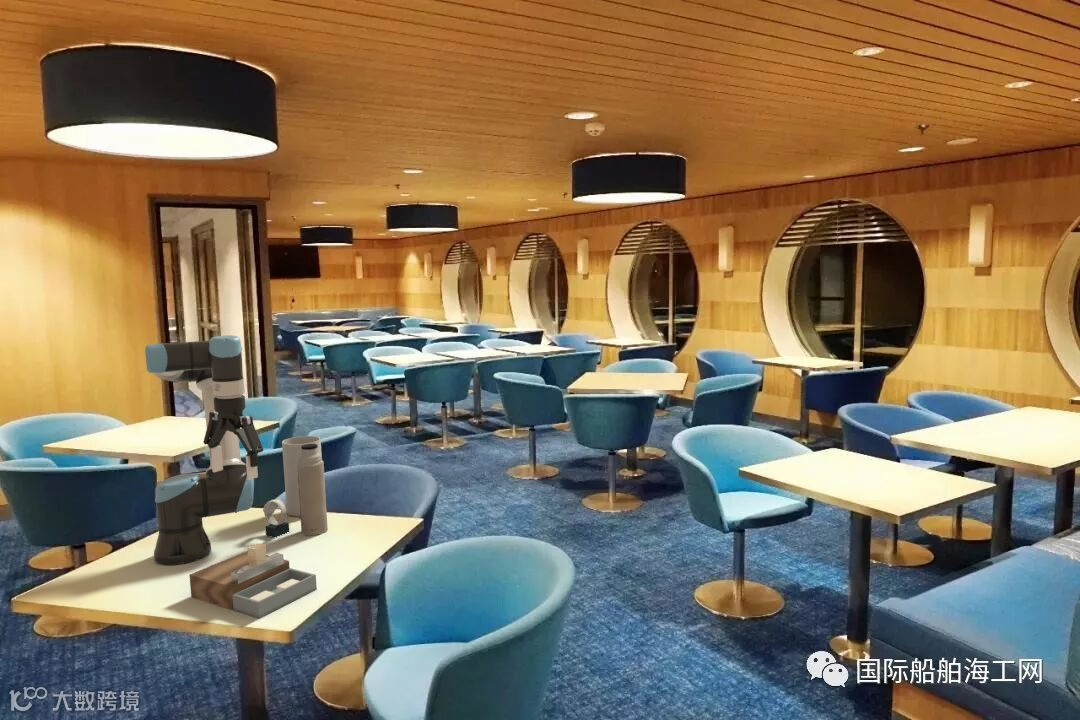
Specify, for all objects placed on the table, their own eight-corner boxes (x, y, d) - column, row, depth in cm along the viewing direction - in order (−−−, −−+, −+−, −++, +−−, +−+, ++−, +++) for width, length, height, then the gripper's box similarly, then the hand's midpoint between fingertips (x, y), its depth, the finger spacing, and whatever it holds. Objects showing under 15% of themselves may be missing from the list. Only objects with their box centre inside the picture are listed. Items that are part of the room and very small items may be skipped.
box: (233, 610, 181) (232, 594, 181) (291, 582, 197) (290, 568, 196) (259, 618, 177) (258, 602, 176) (316, 589, 192) (315, 574, 192)
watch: (275, 529, 238) (273, 496, 237) (293, 533, 234) (291, 499, 233) (261, 534, 234) (259, 500, 232) (279, 538, 230) (276, 504, 228)
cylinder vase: (313, 518, 248) (308, 445, 245) (279, 516, 251) (274, 444, 248) (331, 506, 260) (327, 436, 257) (298, 504, 263) (294, 435, 260)
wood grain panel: (191, 597, 189) (189, 574, 189) (250, 571, 205) (248, 550, 204) (232, 610, 181) (230, 586, 181) (290, 582, 197) (289, 560, 196)
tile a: (263, 602, 179) (263, 610, 180) (279, 594, 184) (280, 601, 184) (249, 598, 182) (249, 606, 182) (265, 590, 186) (266, 598, 186)
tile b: (289, 590, 186) (290, 597, 186) (305, 582, 190) (305, 589, 190) (276, 586, 189) (276, 593, 189) (291, 578, 193) (292, 586, 193)
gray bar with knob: (231, 581, 184) (228, 554, 183) (276, 561, 196) (274, 536, 195) (239, 583, 182) (237, 556, 181) (284, 563, 194) (282, 538, 193)
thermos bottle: (297, 535, 232) (291, 448, 228) (306, 527, 240) (301, 442, 236) (323, 535, 231) (317, 447, 228) (331, 526, 239) (325, 441, 236)
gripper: (185, 393, 195) (191, 471, 198) (250, 403, 183) (255, 485, 186) (209, 388, 201) (215, 464, 205) (274, 397, 189) (279, 477, 193)
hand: (234, 474), depth 196 cm, fingers open, 13 cm apart
